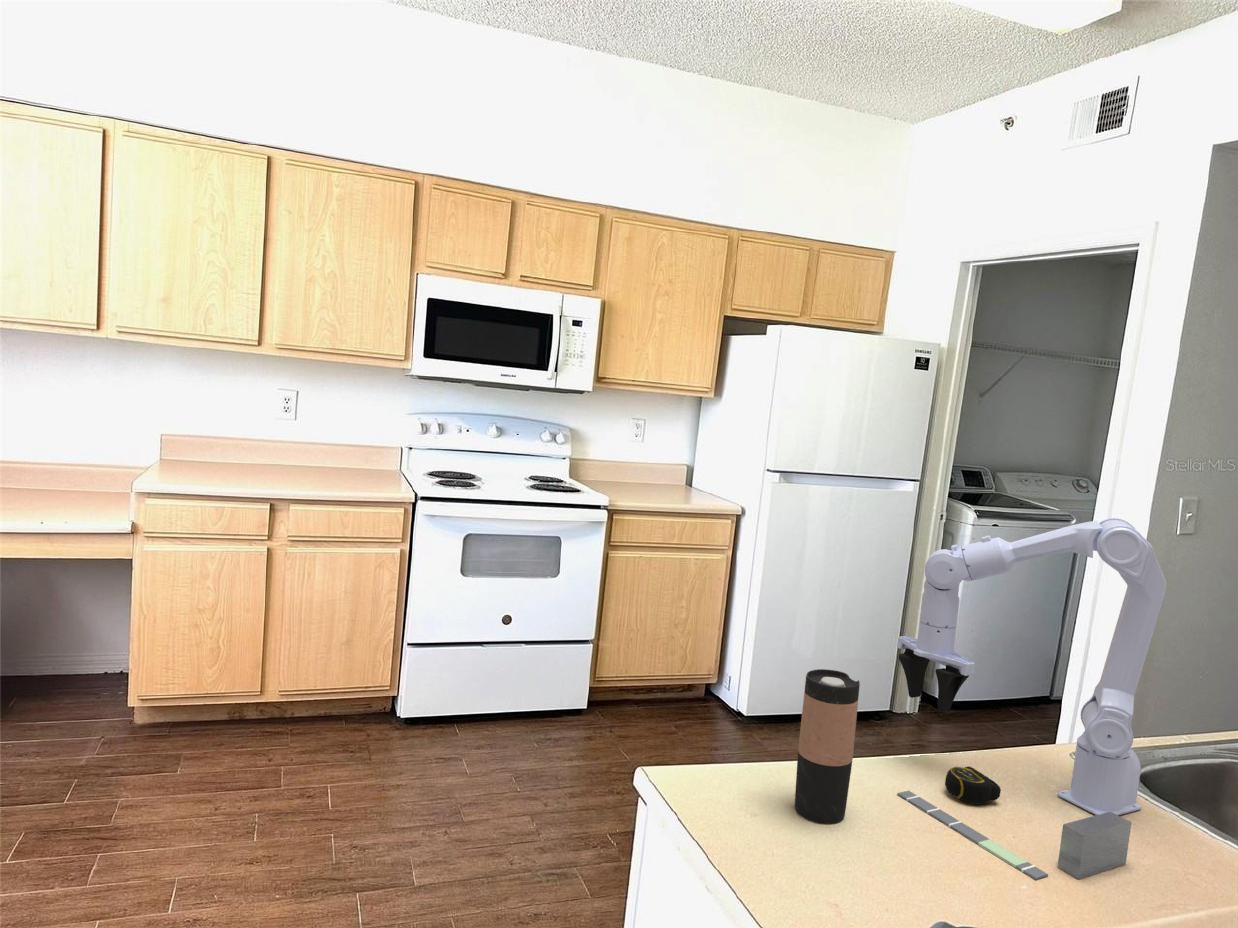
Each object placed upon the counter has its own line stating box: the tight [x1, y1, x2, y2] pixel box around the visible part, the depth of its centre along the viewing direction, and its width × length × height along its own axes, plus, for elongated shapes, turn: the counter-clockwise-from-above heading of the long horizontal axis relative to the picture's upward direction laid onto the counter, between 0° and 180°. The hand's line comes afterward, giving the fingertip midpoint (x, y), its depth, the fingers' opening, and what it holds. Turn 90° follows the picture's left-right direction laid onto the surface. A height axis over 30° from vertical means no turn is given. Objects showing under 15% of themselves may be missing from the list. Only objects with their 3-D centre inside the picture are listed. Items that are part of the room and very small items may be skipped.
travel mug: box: [794, 668, 861, 825], centre depth 125 cm, size 8×8×20 cm
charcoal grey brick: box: [1057, 812, 1132, 880], centre depth 117 cm, size 10×4×6 cm, turn 118°
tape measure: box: [944, 766, 1002, 805], centre depth 134 cm, size 7×7×4 cm
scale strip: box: [896, 790, 1049, 881], centre depth 123 cm, size 2×24×1 cm, turn 28°
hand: (928, 703), depth 144 cm, fingers open, 6 cm apart
